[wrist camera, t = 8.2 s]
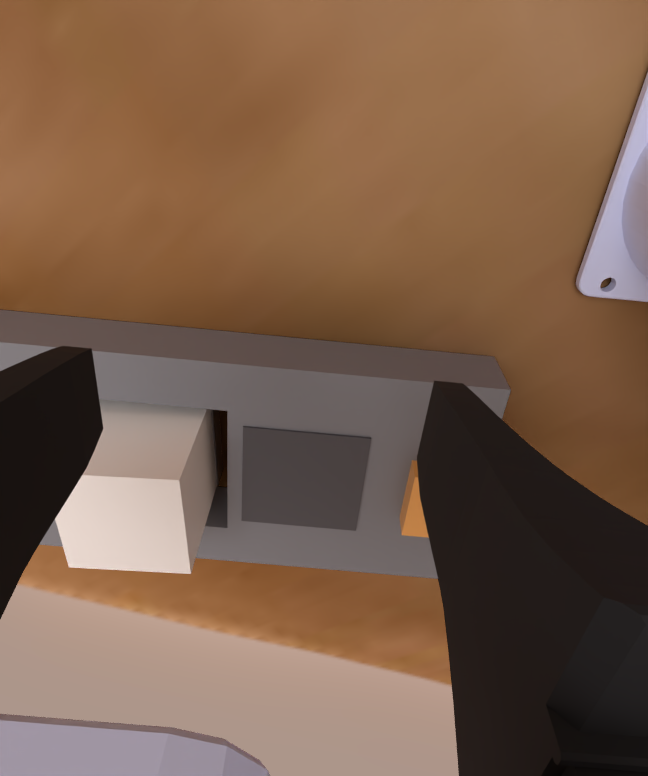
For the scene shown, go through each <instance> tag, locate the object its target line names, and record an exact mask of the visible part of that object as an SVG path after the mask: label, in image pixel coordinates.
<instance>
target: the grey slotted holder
mask: <svg viewBox="0 0 648 776" xmlns="http://www.w3.org/2000/svg"><path fill="white" fill-rule="evenodd" d="M60 346H71V347H82V348H92V353H93V360H94V367H95V374H96V381H97V388H98V395H99V399H103V400H113V401H124V402H135V403H146V404H157V405H168V406H179V407H190V408H201V409H211V410H222V411H227V487H216V490H215V494H214V497H213V500H212V504H211V507H210V511H209V514H208V517H207V521H206V524H205V528H204V531H203V534H202V538H201V541H200V545H199V548H198V551H197V555H196V558H203V559H215V560H226V561H238V562H249V563H261V564H273V565H284V566H296V567H307V568H319V569H331V570H342V571H354V572H366V573H377V574H389V575H400V576H412V577H424V578H435V579H438V576H437V572H436V567H435V563H434V558H433V554H432V550H431V545H430V541H429V536H428V532H427V527H426V523H425V518H424V514H423V509H422V504H421V500H420V492H419V481H418V467H417V454H418V450H419V445H420V441H421V436H422V432H423V427H424V423H425V419H426V414H427V410H428V405H429V401H430V397H431V392H432V388H433V383H434V381H444V382H455V383H463V384H464V385H466V386H467V387H468V388H469V389H470V390H471V391H472V392H473V393H475V394H476V395H477V396H478V397H479V398H480V399H481V400H482V401H483V402H484V403H485V404H486V405H487V406H488V407H489V408H490V409H491V410H492V411H493V412H494V413H495V414H496V415H497V416H498V417H500V418H501V419H502V417H503V414H504V411H505V407H506V404H507V401H508V398H509V395H510V392H511V389H510V387H509V385H508V383H507V381H506V379H505V377H504V375H503V373H502V371H501V369H500V367H499V365H498V363H497V361H496V359H495V357H492V356H482V355H471V354H461V353H450V352H440V351H429V350H419V349H408V348H398V347H387V346H377V345H366V344H356V343H345V342H335V341H324V340H314V339H303V338H293V337H282V336H271V335H261V334H250V333H240V332H229V331H219V330H208V329H198V328H187V327H177V326H166V325H156V324H145V323H135V322H124V321H114V320H103V319H93V318H82V317H72V316H61V315H50V314H40V313H29V312H19V311H8V310H0V371H1V370H4V369H6V368H8V367H11V366H13V365H15V364H17V363H20V362H22V361H24V360H26V359H29V358H31V357H33V356H36V355H38V354H40V353H43V352H45V351H48V350H51V349H54V348H57V347H60ZM40 545H52V546H63V545H62V541H61V538H60V534H59V531H58V527H57V524H56V521H55V520H54V521H53V523H52V525H51V526H50V528H49V529H48V531H47V533H46V534H45V536H44V537H43V539H42V541H41V542H40Z"/></svg>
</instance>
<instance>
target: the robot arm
mask: <svg viewBox="0 0 648 776" xmlns="http://www.w3.org/2000/svg"><path fill="white" fill-rule="evenodd" d="M606 278H611V282H610V284H609V285H608V286H606V287H604V288H600V285H601V283H602V281H603V280H605V279H606ZM576 286H577V289H578V290H579V291H580V292H581V293H582V294H584V295H586V296H591V297H601V298H611V299H622V300H632V301H642V302H648V72H647V75H646V78H645V81H644V84H643V87H642V90H641V93H640V96H639V98H638V101H637V104H636V107H635V110H634V113H633V116H632V119H631V122H630V125H629V128H628V130H627V133H626V136H625V139H624V142H623V145H622V148H621V151H620V154H619V157H618V159H617V162H616V165H615V168H614V171H613V174H612V177H611V180H610V183H609V186H608V188H607V191H606V194H605V197H604V200H603V203H602V206H601V209H600V212H599V215H598V217H597V220H596V223H595V226H594V229H593V232H592V235H591V238H590V241H589V244H588V246H587V249H586V252H585V255H584V258H583V261H582V264H581V267H580V270H579V273H578V275H577V278H576ZM102 431H103V422H102V415H101V409H100V402H99V395H98V388H97V381H96V374H95V367H94V360H93V353H92V348H82V347H71V346H60V347H57V348H54V349H51V350H48V351H45V352H43V353H40V354H38V355H36V356H33V357H31V358H29V359H26V360H24V361H22V362H20V363H17V364H15V365H13V366H11V367H8V368H6V369H4V370H1V371H0V619H1V617H2V614H3V612H4V610H5V608H6V606H7V604H8V602H9V600H10V598H11V596H12V594H13V592H14V589H15V588H16V585H17V583H18V581H19V579H20V577H21V575H22V573H23V571H24V569H25V568H26V566H27V564H28V562H29V561H30V559H31V557H32V555H33V553H34V552H35V550H36V549H37V547H38V545H39V544H40V542H41V541H42V539H43V537H44V536H45V534H46V533H47V531H48V529H49V528H50V526H51V525H52V523H53V521H54V520H55V518H56V517H57V515H58V513H59V512H60V510H61V509H62V507H63V506H64V504H65V502H66V501H67V499H68V498H69V496H70V494H71V493H72V491H73V489H74V488H75V486H76V485H77V483H78V481H79V480H80V478H81V476H82V475H83V473H84V471H85V470H86V468H87V466H88V464H89V462H90V459H91V457H92V455H93V453H94V450H95V448H96V446H97V443H98V441H99V438H100V436H101V433H102ZM417 467H418V481H419V492H420V500H421V504H422V509H423V514H424V518H425V523H426V527H427V532H428V536H429V541H430V545H431V550H432V554H433V558H434V563H435V567H436V572H437V576H438V581H439V585H440V590H441V596H442V602H443V607H444V616H445V624H446V633H447V642H448V651H449V661H450V671H451V682H452V692H453V702H454V715H455V728H456V741H457V753H458V768H459V776H648V526H647V525H645V524H644V523H642V522H640V521H638V520H637V519H635V518H633V517H632V516H630V515H628V514H626V513H625V512H623V511H621V510H619V509H618V508H616V507H614V506H613V505H611V504H610V503H608V502H606V501H605V500H603V499H602V498H600V497H599V496H597V495H596V494H594V493H593V492H591V491H590V490H588V489H587V488H585V487H584V486H583V485H581V484H580V483H578V482H577V481H575V480H574V479H572V478H571V477H569V476H568V475H567V474H565V473H564V472H563V471H561V470H560V469H559V468H557V467H556V466H555V465H554V464H552V463H551V462H550V461H549V460H547V459H546V458H545V457H544V456H543V455H541V454H540V453H539V452H538V451H536V450H535V449H534V448H533V447H532V446H530V445H529V444H528V443H527V442H526V441H525V440H524V439H522V438H521V437H520V436H519V435H518V434H517V433H516V432H515V431H513V430H512V429H511V428H510V427H509V426H508V425H507V424H506V423H505V422H504V421H503V420H502V419H501V418H500V417H498V416H497V415H496V414H495V413H494V412H493V411H492V410H491V409H490V408H489V407H488V406H487V405H486V404H485V403H484V402H483V401H482V400H481V399H480V398H479V397H478V396H477V395H476V394H475V393H473V392H472V391H471V390H470V389H469V388H468V387H467V386H466V385H464V384H463V383H455V382H444V381H434V383H433V388H432V392H431V397H430V401H429V405H428V410H427V414H426V419H425V423H424V427H423V432H422V436H421V441H420V445H419V450H418V454H417ZM0 776H270V774H269V772H268V770H267V769H266V768H265V766H264V765H263V764H262V763H261V762H260V760H258V759H257V758H255V757H253V756H252V755H250V754H248V753H247V752H245V751H243V750H241V749H240V748H238V747H237V746H235V745H233V744H231V743H230V742H228V741H226V740H225V739H222V738H218V737H213V736H209V735H204V734H199V733H194V732H190V731H186V730H181V729H177V728H171V727H159V726H146V725H133V724H121V723H108V722H96V721H83V720H71V719H57V718H45V717H32V716H20V715H7V714H0Z"/></svg>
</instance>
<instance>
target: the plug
mask: <svg viewBox="0 0 648 776" xmlns="http://www.w3.org/2000/svg"><path fill="white" fill-rule="evenodd" d="M99 402H100V409H101V415H102V422H103V431H102V433H101V436H100V438H99V441H98V443H97V446H96V448H95V450H94V453H93V455H92V457H91V459H90V462H89V464H88V466H87V468H86V470H85V471H84V473H83V475H82V476H81V478H80V480H79V481H78V483H77V485H76V486H75V488H74V489H73V491H72V493H71V494H70V496H69V498H68V499H67V501H66V502H65V504H64V506H63V507H62V509H61V510H60V512H59V513H58V515H57V517H56V518H55V521H56V524H57V527H58V531H59V534H60V538H61V541H62V545H63V548H64V552H65V555H66V558H67V562H68V565H69V567H72V568H91V569H110V570H128V571H147V572H166V573H184V574H191V572H192V568H193V565H194V562H195V558H196V555H197V551H198V548H199V545H200V541H201V538H202V534H203V531H204V528H205V524H206V521H207V517H208V514H209V511H210V507H211V504H212V500H213V497H214V494H215V490H216V487H217V486H218V485H219V482H220V478H221V475H222V471H223V456H222V442H221V427H220V412H219V410H211V409H201V408H190V407H179V406H168V405H157V404H146V403H135V402H124V401H113V400H103V399H99Z"/></svg>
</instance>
